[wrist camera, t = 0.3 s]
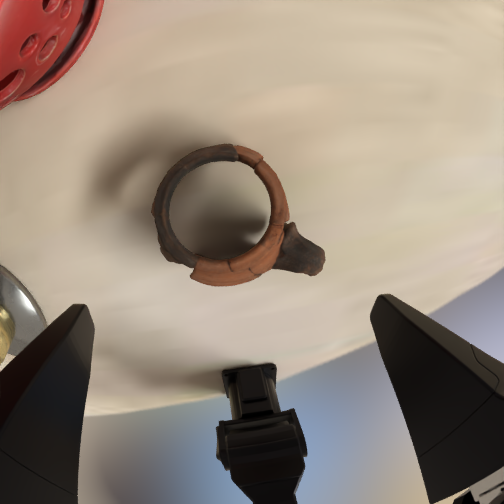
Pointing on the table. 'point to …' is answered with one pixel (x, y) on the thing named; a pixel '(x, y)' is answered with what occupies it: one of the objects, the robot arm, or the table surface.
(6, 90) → the plant pot
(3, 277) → the spindle flange
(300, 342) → the table surface
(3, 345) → the lever valve handle
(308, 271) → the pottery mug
